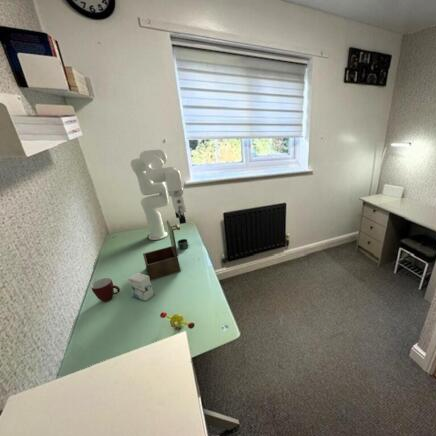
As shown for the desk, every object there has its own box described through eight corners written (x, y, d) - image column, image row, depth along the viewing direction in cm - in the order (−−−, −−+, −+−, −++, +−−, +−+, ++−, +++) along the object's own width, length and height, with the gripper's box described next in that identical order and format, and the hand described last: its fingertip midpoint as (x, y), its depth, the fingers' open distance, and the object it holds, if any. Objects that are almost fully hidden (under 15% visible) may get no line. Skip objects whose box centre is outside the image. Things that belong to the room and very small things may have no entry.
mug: (124, 291, 123) (119, 275, 119) (120, 301, 116) (114, 285, 112) (100, 295, 120) (94, 279, 116) (94, 306, 113) (87, 290, 109)
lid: (171, 230, 129) (181, 228, 131) (166, 220, 140) (175, 219, 143) (176, 256, 135) (186, 253, 138) (171, 245, 146) (180, 243, 149)
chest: (150, 280, 131) (145, 265, 127) (146, 267, 142) (142, 253, 138) (180, 271, 140) (177, 256, 136) (175, 259, 151) (172, 245, 147)
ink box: (133, 296, 120) (127, 278, 115) (142, 290, 124) (136, 272, 119) (146, 301, 117) (140, 282, 112) (154, 294, 121) (149, 275, 117)
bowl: (177, 246, 166) (176, 240, 164) (187, 243, 169) (186, 238, 168) (179, 250, 161) (178, 244, 159) (189, 247, 164) (188, 241, 163)
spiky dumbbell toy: (157, 326, 103) (154, 314, 101) (167, 317, 108) (164, 305, 105) (190, 339, 98) (187, 327, 95) (199, 329, 102) (197, 317, 100)
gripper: (186, 195, 126) (191, 224, 133) (179, 187, 139) (184, 214, 146) (171, 197, 122) (177, 227, 129) (165, 189, 135) (171, 216, 142)
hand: (181, 220), depth 138 cm, fingers open, 9 cm apart
